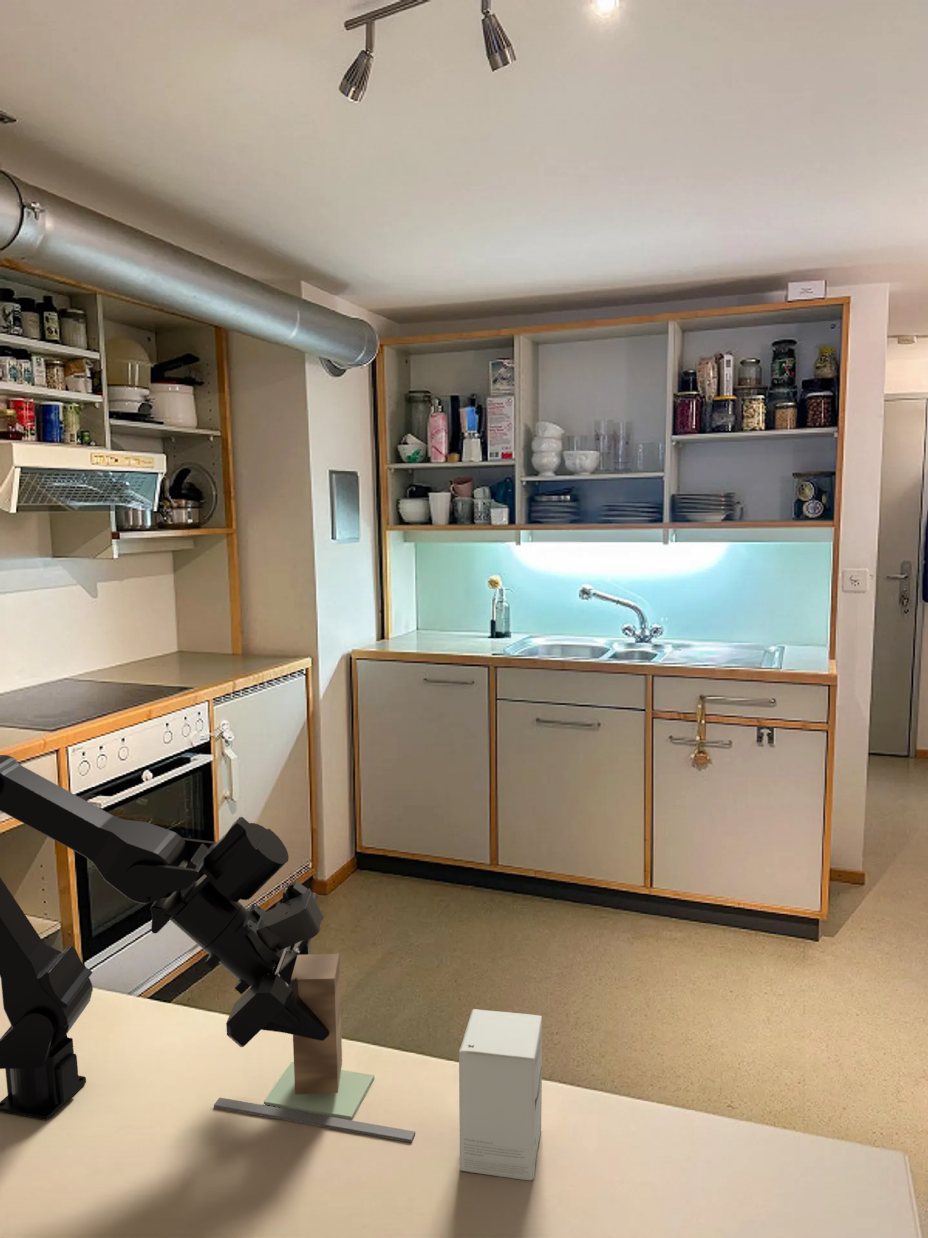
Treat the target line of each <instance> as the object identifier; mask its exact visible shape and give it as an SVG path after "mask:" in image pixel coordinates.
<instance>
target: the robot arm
mask: <svg viewBox="0 0 928 1238" xmlns="http://www.w3.org/2000/svg"><path fill="white" fill-rule="evenodd" d="M0 812H1V813H4V814H5V815H8V816H9V817H10V818H13V819H14V820H16V821H19V822H20V823H22V824H24V825H26V826H28V827H29V828H32V829H33V830H35V831H37V832H39V833H41V834H43V835H44V836H46V837H48V838H50V839H52V840H54V841H55V842H57V843H58V844H61V845H63V846H64V847H66V848H69V849H71V850H72V851H74V852H75V853H77V854H79V855H81V856H83V857H84V858H85V859H87V860H88V861H89V862H91V863H92V864H93V865H94V867H95V868H96V870H97V871H98V873H99V874H100V875H101V877H102V879H103V880H104V881H105V882H106V883H107V884H109V885H110V886H111V887H112V888H114V889H115V890H116V891H118V892H119V893H121V895H123V896H124V897H126V898H127V899H128V900H130V901H132V902H134V903H137V904H142V905H148V904H149V903H152V905H151V906H150V912H151V929H150V931H151V932H152V934H158V933H159V932H160V931H161V930H162V929H163V928H164V927H165V926H166V925H167V924H168V923H169V922H170V921H171V922H172V923H173V924H174V925H175V926H176V927H178V928H179V930H181V931H182V932H183V933H184V934H185V935H187V937H188V938H190V939H191V940H192V941H194V942H195V944H197V945H198V946H199V947H200V948H201V949H203V950H204V951H205V952H206V953H207V954H208V957H207V958H206V960H205V962H204V963H205V964H206V965H207V966H209V967H210V968H211V970H213V969H214V968H215V967H216V966H217V965H218V964H219V965H221V966H222V967H223V968H224V969H225V970H226V971H227V972H228V973H230V974H231V975H232V976H233V977H234V978H235V979H237V982H236V984H235V986H234V990H235V991H237V992H238V993H239V994H240V995H242V996H241V997H239V998H238V999H237V1000H236V1002H235V1003H234V1004H233V1006H232V1009H231V1011H230V1013H229V1016H228V1018H227V1021H226V1023H225V1024H226V1036H227V1037H228V1038H230V1039H231V1041H233V1042H234V1043H235V1044H237V1045H238V1046H239V1047H240V1048H244V1047H245V1046H247V1044H248V1043H249V1042H250V1041H252V1039H253V1038H254V1037H256V1036H257V1034H259V1032H260V1031H268V1032H275V1033H276V1032H278V1033H284V1034H287V1035H292V1036H293V1035H297V1036H302V1037H307V1038H311V1039H316V1040H320V1041H323V1040H325V1039H326V1038H327V1037H328V1036H329V1031H328V1029H327V1028H326V1027H325V1025H324V1024H323V1023H322V1022H321V1021H320V1019H319V1018H318V1017H317V1016H316V1015H315V1014H314V1013H313V1012H312V1011H311V1010H310V1008H309V1007H308V1006H307V1005H306V1004H305V1003H304V1002H303V1001H302V1000H301V999H300V997H299V994H298V979H297V978H295V979H294V980H293V981H292V982H291V977H292V974H293V970H294V966H295V962H296V959H297V955H308V954H312V953H311V952H312V950H311V949H312V947H311V946H312V939H313V938H315V937H316V936H317V935H318V934H319V933H320V931H321V927H320V926H321V923H322V921H323V920H324V915H323V913H322V911H321V909H320V907H319V905H318V904H317V901H318V898H319V895H318V894H317V893H316V892H313V891H312V890H311V888H307V887H306V886H304V885H303V884H301V883H300V882H299V881H294V882H292V883H289V884H287V885H285V887H284V890H283V892H282V902H281V901H279V902H277V903H276V905H275V907H273V908H271V909H269V910H267V911H266V910H264V909H263V908H262V907H261V906H260V905H258V904H257V905H255V904H254V903H252V904H251V905H250V906H249V907H248V909H247V908H246V907H245V906H244V905H243V904H242V903H241V902H240V900H241V901H247V900H250V899H251V898H253V897H254V896H255V894H256V893H258V892H259V891H260V890H261V889H262V888H263V886H265V884H266V883H268V882H269V881H270V880H271V879H272V877H274V876H275V875H276V874H277V872H279V871H280V869H282V868H283V867H284V866H285V865H286V864H288V861H289V852H288V850H287V847H286V846H285V844H284V841H282V839H281V838H280V837H279V836H278V835H277V834H276V833H275V832H274V831H273V830H272V829H271V828H265V827H264V826H262V825H260V824H258V823H255V822H249V821H247V819H245V818H244V817H243V816H239V817H238V818H237V819H236V820H235V821H234V822H233V823H232V825H231V826H230V828H229V829H228V831H227V832H226V833H225V834H224V835H223V836H222V837H221V839H219V840H218V841H211V840H203V839H195V838H187V837H182V836H181V835H179V834H178V833H177V832H175V831H172V830H170V829H167V828H165V827H162V826H159V825H156V824H153V823H150V822H148V821H141V820H133V819H132V820H131V819H124V818H120V817H119V816H115V815H113V814H111V813H108V811H105V810H104V809H101V808H100V807H98V806H96V805H94V804H93V803H91V802H89V801H87V800H85V799H84V798H82V797H80V796H78V795H77V794H74V793H73V792H71V791H69V790H68V789H65V788H63V787H61V786H59V785H58V784H56V783H54V782H52V781H51V780H48V779H47V778H45V777H44V776H41V775H40V774H37V773H36V772H34V771H32V770H30V769H28V768H27V767H25V766H23V765H21V764H20V761H19V760H17V759H16V758H15V757H13V756H11V755H5V754H0ZM201 874H203V875H202V876H201ZM200 876H201V877H200ZM169 893H171V895H170V896H168V897H166V896H167V895H168V894H169ZM92 974H93V971H92V970H91V969H89V968H88V967H87V966H86V965H85V964H84V963H83V962H82V960H81V958H80V956H79V954H78V951H77V949H76V948H75V947H74V946H73V945H68V946H67V947H66V948H64V949H63V950H62V951H60V950H58V949H56V948H54V947H52V946H50V945H47V944H46V943H45V942H44V941H43V939H42V938H41V937H40V935H39V933H38V932H37V930H36V929H35V927H34V926H33V925H32V923H31V922H30V920H29V919H28V917H27V916H26V914H25V912H24V911H23V910H22V908H21V906H20V905H19V903H18V902H17V900H16V899H15V897H14V896H13V894H12V893H11V891H10V890H9V888H8V887H7V885H6V884H5V882H4V881H3V879H2V877H0V982H1V994H2V995H1V996H2V1005H3V1010H4V1012H5V1015H6V1017H7V1020H8V1021H9V1024H10V1027H8V1029H7V1030H6V1031H5V1032H4V1033H3V1035H2V1036H0V1070H5V1079H6V1089H7V1095H6V1096H5V1097H4V1098H2V1100H0V1112H1V1113H6V1114H7V1113H8V1114H12V1115H18V1116H23V1117H27V1118H28V1117H29V1118H33V1119H38V1120H42V1121H43V1120H45V1121H46V1120H48V1119H50V1118H52V1116H53V1115H54V1114H55V1113H57V1111H58V1110H60V1108H62V1107H63V1106H64V1105H65V1104H66V1103H67V1102H68V1101H69V1100H70V1099H71V1098H72V1097H73V1096H74V1095H75V1094H76V1093H77V1092H78V1091H79V1090H80V1089H81V1088H82V1087H83V1086H85V1084H86V1083H87V1077H86V1076H83V1075H79V1069H78V1055H77V1054H76V1053H74V1039H73V1037H68V1033H69V1031H70V1030H71V1029H72V1027H73V1026H74V1025H75V1023H76V1022H77V1020H78V1019H79V1017H80V1016H81V1014H82V1013H83V1011H84V1010H85V1009H86V1007H87V1006H88V1004H90V1001H91V998H92V994H93V991H94V988H93V984H92V981H91V979H90V977H91V975H92Z"/></svg>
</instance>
